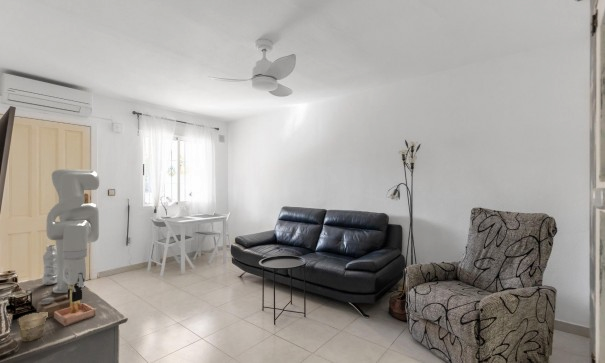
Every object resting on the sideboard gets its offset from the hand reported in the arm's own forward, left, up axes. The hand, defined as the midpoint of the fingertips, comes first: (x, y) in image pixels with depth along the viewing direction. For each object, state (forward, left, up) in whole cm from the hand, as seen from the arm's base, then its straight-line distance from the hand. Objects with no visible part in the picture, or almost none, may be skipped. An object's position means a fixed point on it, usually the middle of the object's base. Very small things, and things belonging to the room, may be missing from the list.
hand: (74, 299), depth 113 cm
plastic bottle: (-51, +7, -7) cm, 52 cm away
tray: (0, 0, -7) cm, 7 cm away
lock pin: (0, 0, -5) cm, 5 cm away
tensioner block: (-12, -2, -7) cm, 14 cm away
